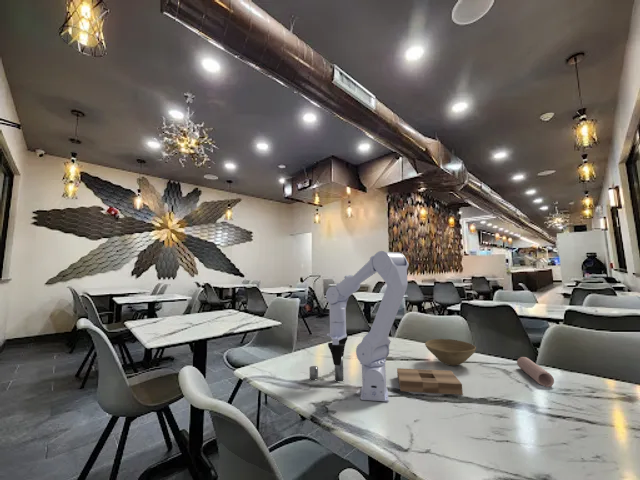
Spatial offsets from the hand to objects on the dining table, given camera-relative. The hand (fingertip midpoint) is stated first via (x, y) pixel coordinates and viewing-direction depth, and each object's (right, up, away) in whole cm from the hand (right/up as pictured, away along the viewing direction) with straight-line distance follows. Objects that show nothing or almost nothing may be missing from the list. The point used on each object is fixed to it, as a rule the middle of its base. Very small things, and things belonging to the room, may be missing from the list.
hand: (338, 361), depth 98 cm
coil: (+68, -6, -1) cm, 68 cm away
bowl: (+46, -8, +14) cm, 48 cm away
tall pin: (0, -6, -1) cm, 6 cm away
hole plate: (+29, -5, -6) cm, 30 cm away
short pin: (-9, -7, +1) cm, 11 cm away
